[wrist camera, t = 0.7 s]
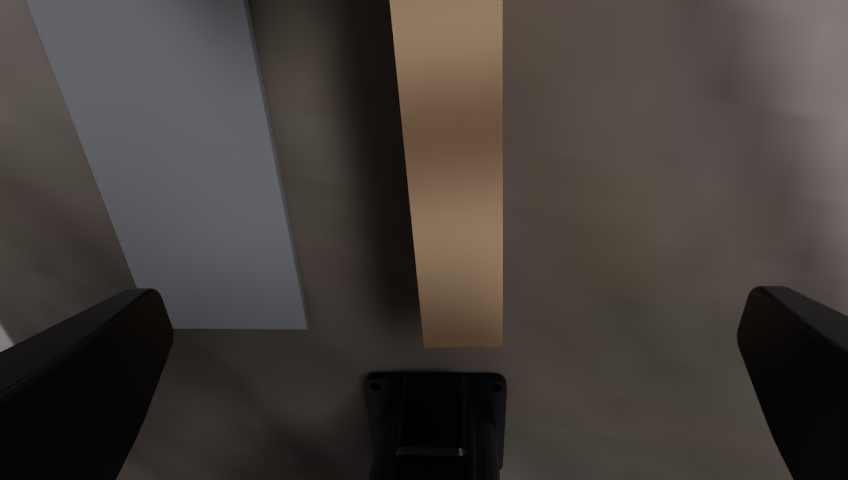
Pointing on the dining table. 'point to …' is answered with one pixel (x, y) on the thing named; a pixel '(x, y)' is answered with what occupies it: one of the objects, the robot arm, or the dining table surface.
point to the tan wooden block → (454, 163)
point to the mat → (181, 153)
